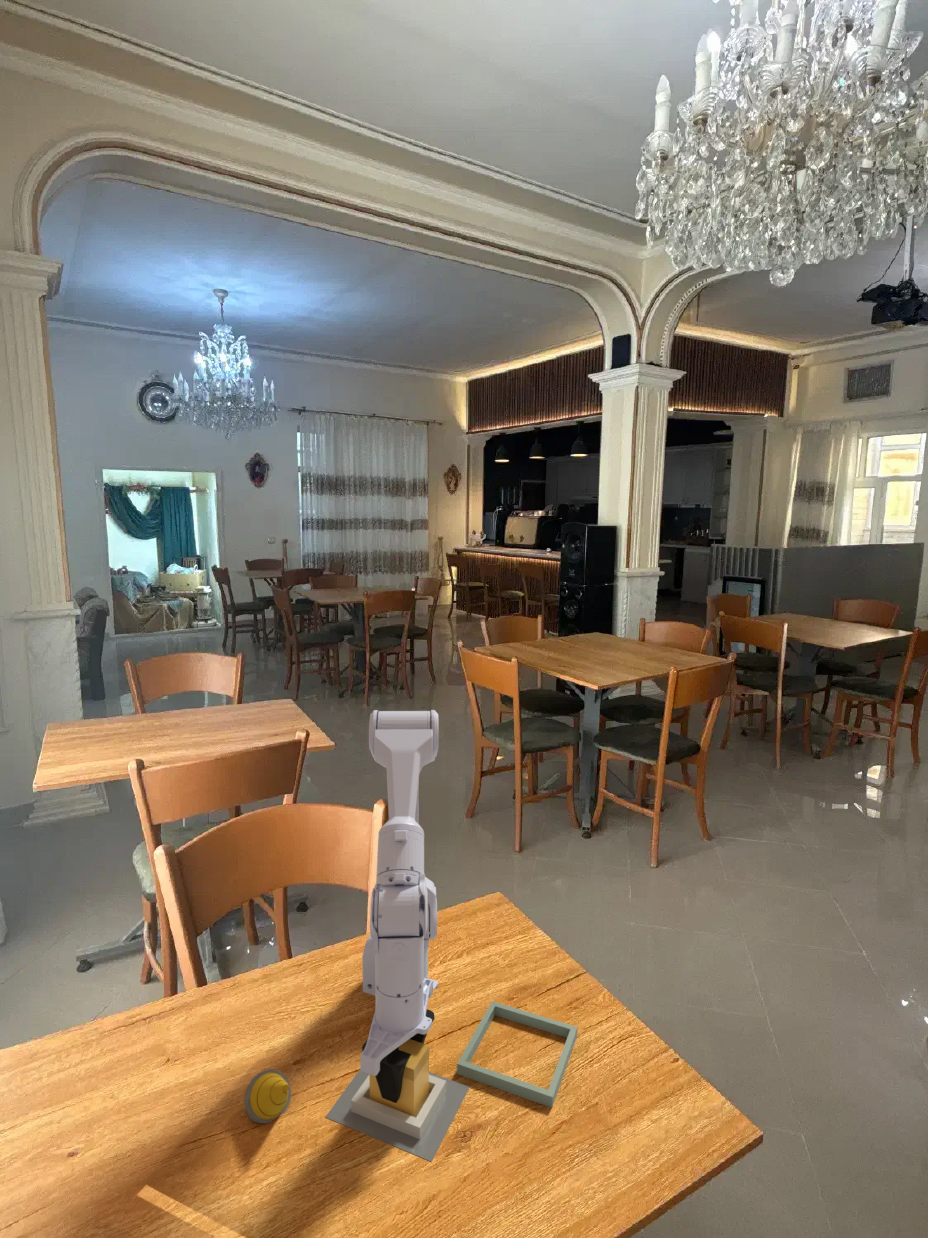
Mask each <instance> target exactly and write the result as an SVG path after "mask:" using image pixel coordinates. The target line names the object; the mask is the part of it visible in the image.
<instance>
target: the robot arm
mask: <svg viewBox="0 0 928 1238" xmlns="http://www.w3.org/2000/svg"><path fill="white" fill-rule="evenodd" d="M439 719H440V718H439V712H437V711H436V710H435V709H431V710H378V709H374V710H373V711H372V712H371V713H370V715H369V721H368V722H369V724H368V747H369V751H370V754H371V756H372V758H373V760H374V762H375V763H376V764H378V765H380V766H382V767H383V768H385V769H386V786H387V790H386V791H387V806H388V807H387V808H388V809H387V810H388V819H387V821H386V822H385V823H384V824H383V825H382V827H380V829H379V831H378V838H377V839H378V840H377V857H376V859H377V861H376V883H375V884H374V887H373V888H372V891H371V898H370V912H369V913H370V915H369V921H370V922H369V936H368V938H366V939H367V940H366V941H365V944H364V948H363V952H362V992H363V993H365V994H368V995H372V996H374V997H375V1003H374V1004H375V1008H374V1009H375V1011H374V1014H373V1016H372V1017H373V1018H372V1021H371V1025H370V1029H369V1034H368V1036H367V1040H366V1041H365V1042H364V1043H363V1045H362V1047H361V1054H360V1056H359V1057H360V1061H359V1063H360V1066H359V1067H360V1068H359V1070H361V1071H363V1072H365V1073H368V1074H371V1075H374V1076H375V1077H376V1080H377V1083H378V1086H379V1089H380V1093H381V1096H382V1098H384V1099H386V1100H389V1101H391V1102H394V1103H397V1101H398V1100H399V1097H400V1094H401V1089H402V1080H403V1074H404V1070H405V1067H406V1064H407V1062H408V1059H409V1058H410V1056H411V1054H409V1053H407V1052H404V1051H401V1050H399V1046H400V1045H402V1044H403V1043H404V1042H406V1041H407V1040H409V1039H411V1040H414V1041H417V1042H420V1043H423V1044H425V1041H426V1037H427V1036H428V1032H429V1031H430V1030H431V1028H432V1026H433V1023H434V1021H435V1013H434V1011H432V1010H430V1009H428V1003H429V999H430V998H431V997H432V996H433V994H434V990H436V989H437V988H438V987H439V981H437V980H435V979H431V978H429V947H430V941H434V940H435V938H436V937H437V936H438V898H437V887H436V886H435V883H434V882H433V881H432V880H430V879H429V878H428V877H426V873H425V831H424V829H423V828H422V826H421V825H420V824H419V812H420V811H419V805H420V804H419V796H420V795H419V785H420V784H419V782H420V781H419V780H420V779H419V778H420V773H421V771H422V770H423V769H422V768H423V767H424V766H427V765H428V764H430V763H432V762H435V761H436V758H437V756H438V751H439V741H440V740H439V737H440V734H439V730H440V729H439V728H440V727H439V725H440V724H439V723H440V722H439Z"/></svg>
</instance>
